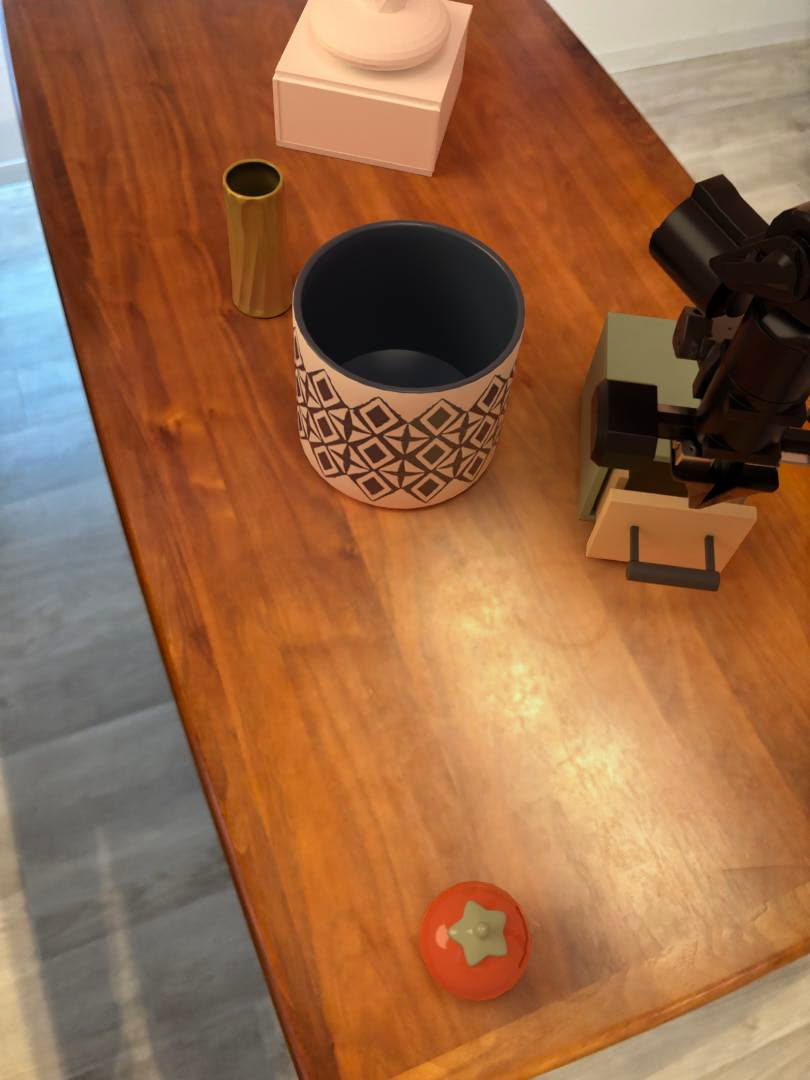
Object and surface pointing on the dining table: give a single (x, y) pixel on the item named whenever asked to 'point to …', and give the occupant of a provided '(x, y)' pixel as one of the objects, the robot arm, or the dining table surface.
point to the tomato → (475, 940)
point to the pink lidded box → (372, 80)
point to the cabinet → (640, 357)
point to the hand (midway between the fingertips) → (693, 503)
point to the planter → (404, 360)
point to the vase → (258, 238)
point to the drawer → (665, 529)
